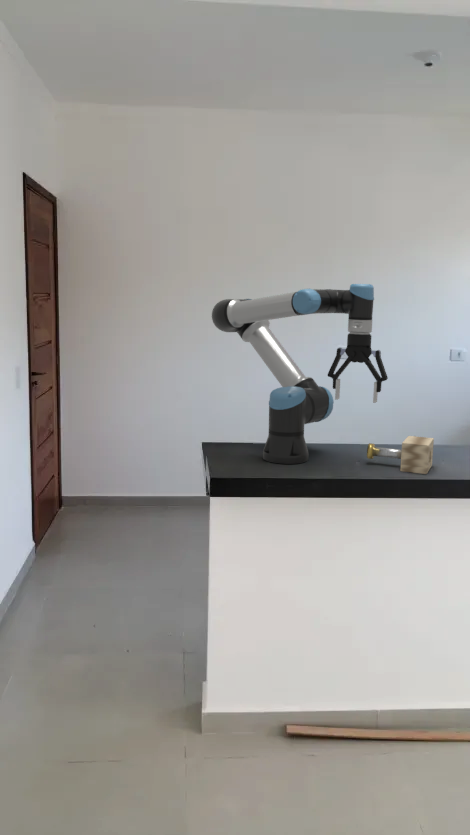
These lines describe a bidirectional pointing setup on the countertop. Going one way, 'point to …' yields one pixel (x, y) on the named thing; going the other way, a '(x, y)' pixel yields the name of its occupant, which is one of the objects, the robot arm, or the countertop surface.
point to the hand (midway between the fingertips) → (355, 400)
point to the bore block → (417, 454)
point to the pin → (382, 452)
